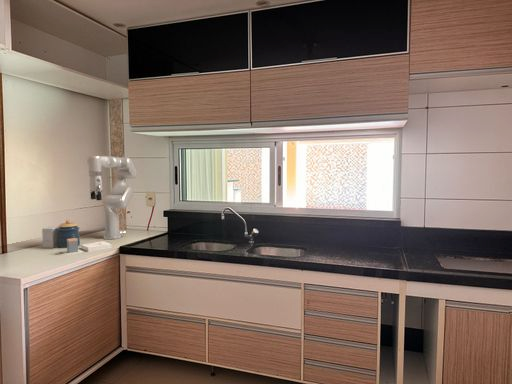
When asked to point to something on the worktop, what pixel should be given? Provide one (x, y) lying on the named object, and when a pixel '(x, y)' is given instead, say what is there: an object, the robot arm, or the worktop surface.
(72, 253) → the mat
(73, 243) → the plug
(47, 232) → the supplement box
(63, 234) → the canister
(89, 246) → the white flat block
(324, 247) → the worktop surface
